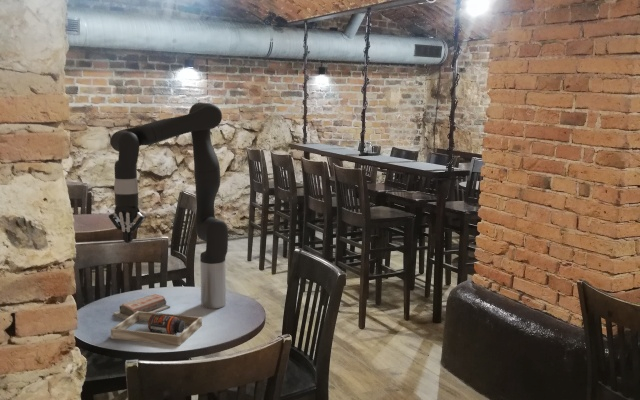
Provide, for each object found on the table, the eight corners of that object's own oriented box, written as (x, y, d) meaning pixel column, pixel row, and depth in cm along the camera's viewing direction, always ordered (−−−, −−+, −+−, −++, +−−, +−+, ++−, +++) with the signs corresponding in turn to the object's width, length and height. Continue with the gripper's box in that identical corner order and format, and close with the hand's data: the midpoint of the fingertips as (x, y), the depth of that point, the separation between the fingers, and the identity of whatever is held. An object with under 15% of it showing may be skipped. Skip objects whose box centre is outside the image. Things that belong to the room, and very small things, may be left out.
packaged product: (152, 291, 243) (170, 296, 238) (152, 303, 244) (170, 309, 238) (112, 303, 229) (130, 309, 223) (112, 316, 230) (130, 323, 224)
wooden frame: (137, 319, 226) (137, 311, 226) (201, 325, 221) (201, 317, 221) (111, 338, 209) (110, 329, 208) (179, 345, 204) (179, 336, 203)
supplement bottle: (152, 310, 215) (182, 313, 212) (158, 320, 219) (188, 324, 216) (144, 325, 211) (176, 329, 208) (151, 335, 215) (181, 339, 212)
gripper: (150, 190, 216) (151, 241, 219) (113, 188, 218) (115, 238, 221) (139, 194, 208) (141, 246, 211) (102, 192, 211) (104, 243, 214)
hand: (128, 242), depth 216 cm, fingers closed
